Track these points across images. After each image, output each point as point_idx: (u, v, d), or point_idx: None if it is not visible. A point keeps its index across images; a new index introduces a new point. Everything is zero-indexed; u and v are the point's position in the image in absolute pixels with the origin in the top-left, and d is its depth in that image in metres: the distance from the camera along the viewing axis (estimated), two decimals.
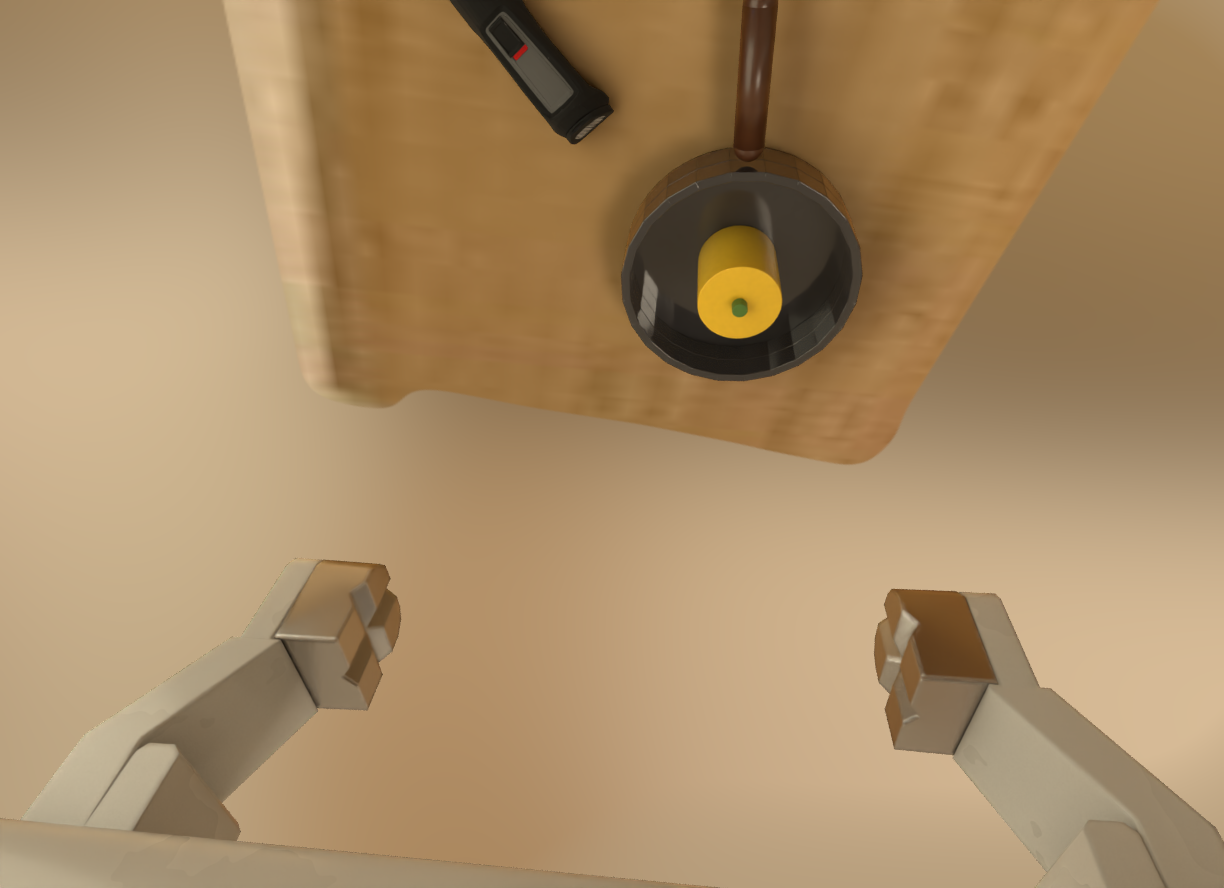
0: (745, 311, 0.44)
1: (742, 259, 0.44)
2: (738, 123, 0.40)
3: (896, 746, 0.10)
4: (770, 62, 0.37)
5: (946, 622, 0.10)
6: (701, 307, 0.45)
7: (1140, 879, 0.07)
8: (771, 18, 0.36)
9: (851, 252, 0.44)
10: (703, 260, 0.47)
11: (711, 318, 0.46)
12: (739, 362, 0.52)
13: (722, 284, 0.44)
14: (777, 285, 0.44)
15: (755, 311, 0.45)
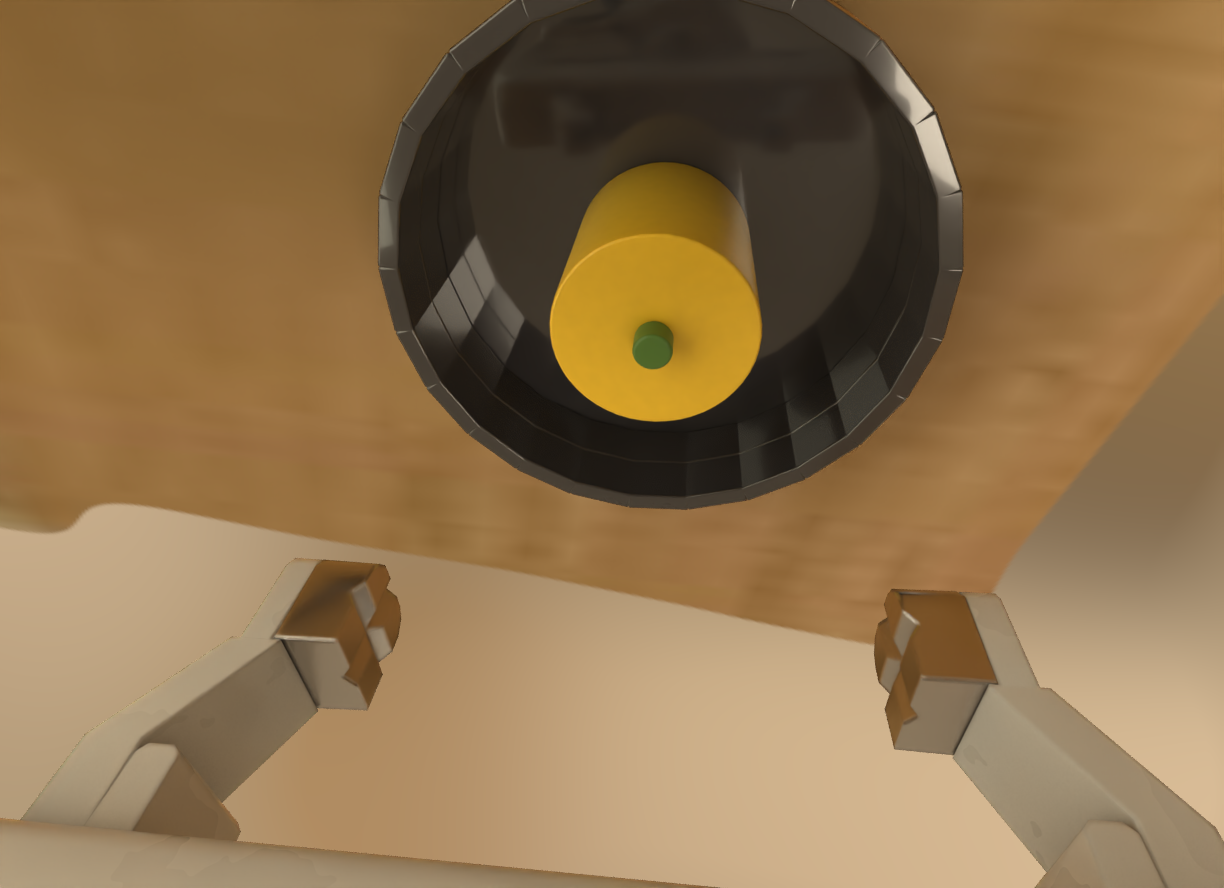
0: (666, 354, 0.17)
1: (657, 219, 0.17)
2: None
3: (897, 746, 0.10)
4: None
5: (946, 622, 0.10)
6: (561, 344, 0.18)
7: (1140, 879, 0.07)
8: None
9: (939, 205, 0.17)
10: (576, 237, 0.20)
11: (589, 372, 0.19)
12: (678, 468, 0.25)
13: (605, 284, 0.17)
14: (748, 287, 0.17)
15: (695, 356, 0.18)
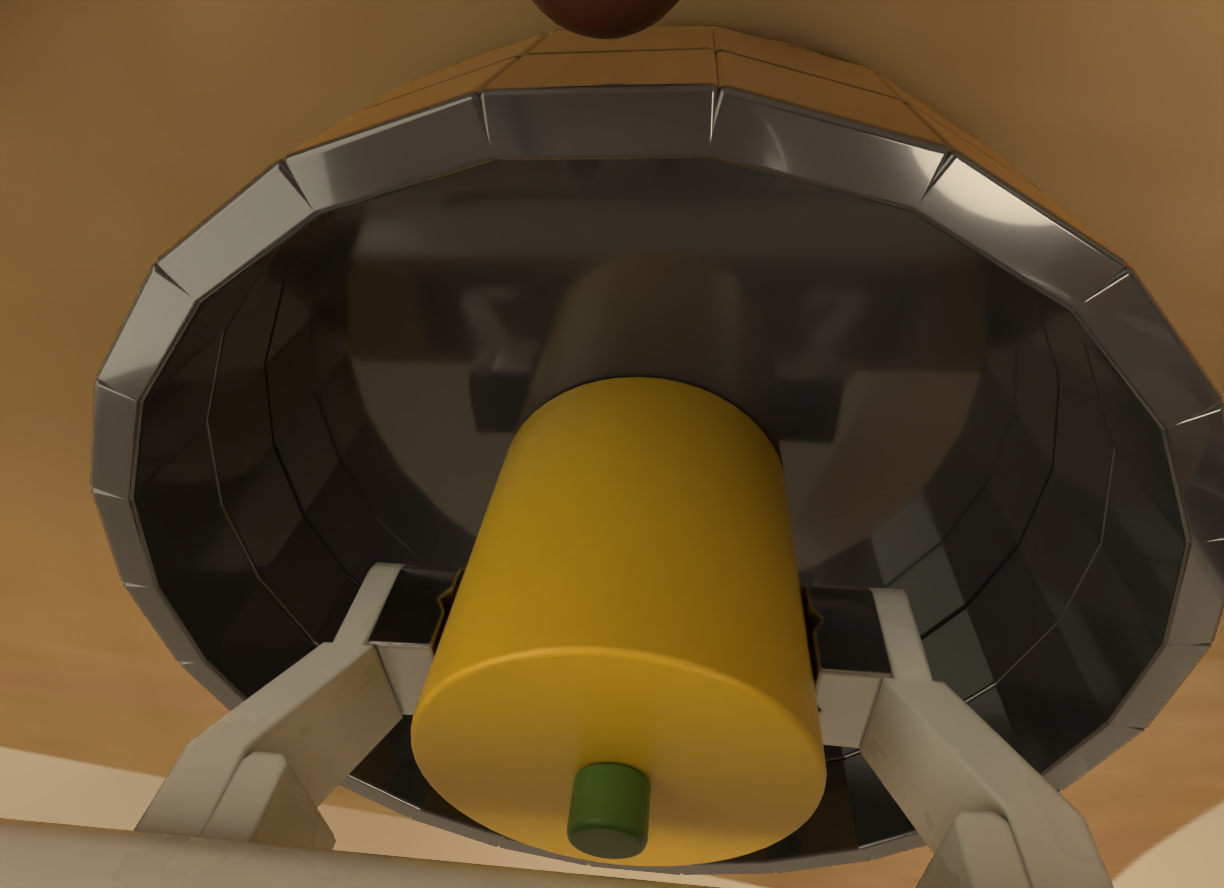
0: (635, 846, 0.08)
1: (614, 585, 0.08)
2: None
3: None
4: None
5: (850, 617, 0.10)
6: (437, 774, 0.09)
7: (1003, 866, 0.07)
8: None
9: (1190, 553, 0.08)
10: (483, 522, 0.11)
11: (494, 807, 0.10)
12: None
13: (511, 710, 0.08)
14: (803, 731, 0.08)
15: (693, 804, 0.09)
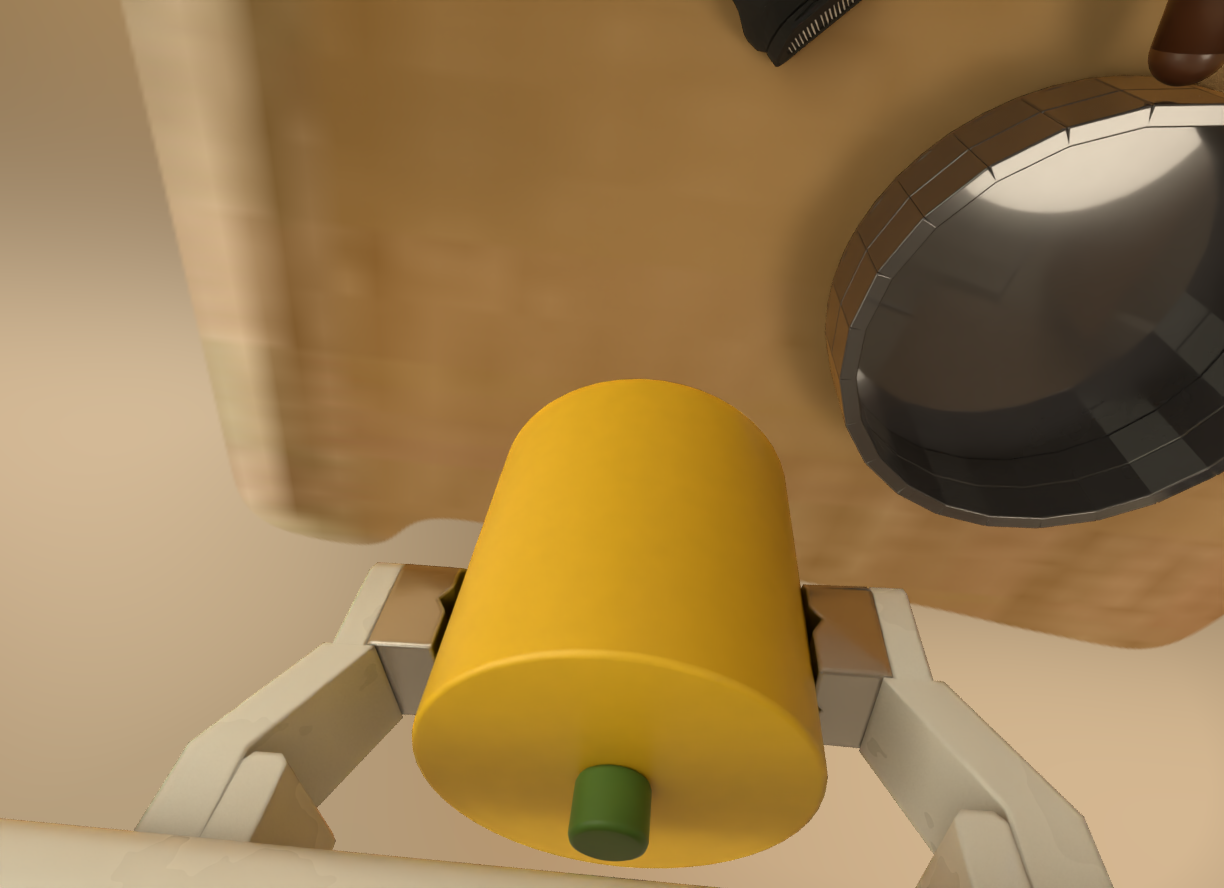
0: (636, 849, 0.08)
1: (615, 588, 0.08)
2: None
3: None
4: None
5: (850, 617, 0.10)
6: (438, 776, 0.09)
7: (1003, 867, 0.07)
8: None
9: None
10: (484, 524, 0.11)
11: (496, 809, 0.10)
12: (1020, 492, 0.29)
13: (512, 713, 0.08)
14: (804, 734, 0.08)
15: (693, 807, 0.09)
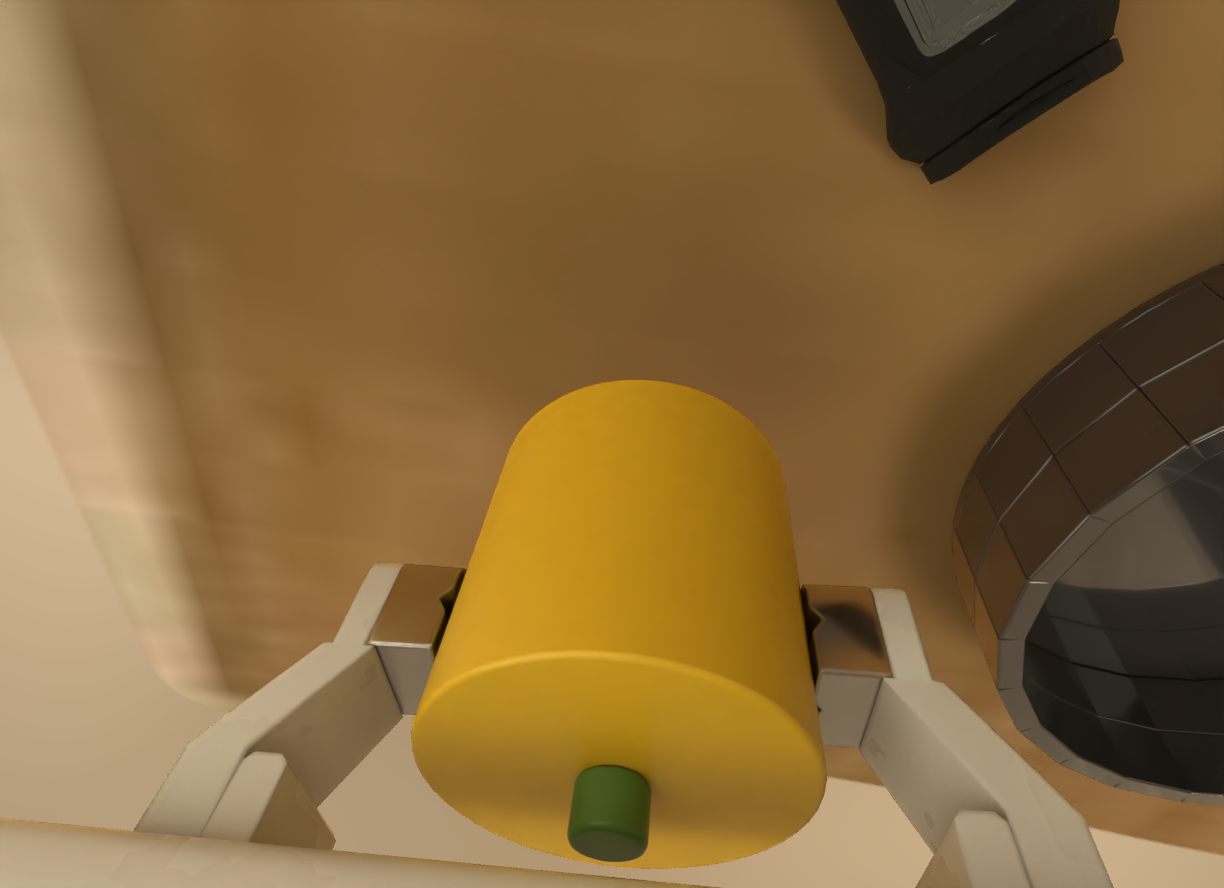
0: (636, 849, 0.08)
1: (615, 589, 0.08)
2: None
3: None
4: None
5: (850, 617, 0.10)
6: (437, 777, 0.09)
7: (1003, 867, 0.07)
8: None
9: None
10: (484, 525, 0.11)
11: (495, 810, 0.10)
12: (1223, 745, 0.20)
13: (511, 713, 0.08)
14: (803, 734, 0.08)
15: (692, 808, 0.09)
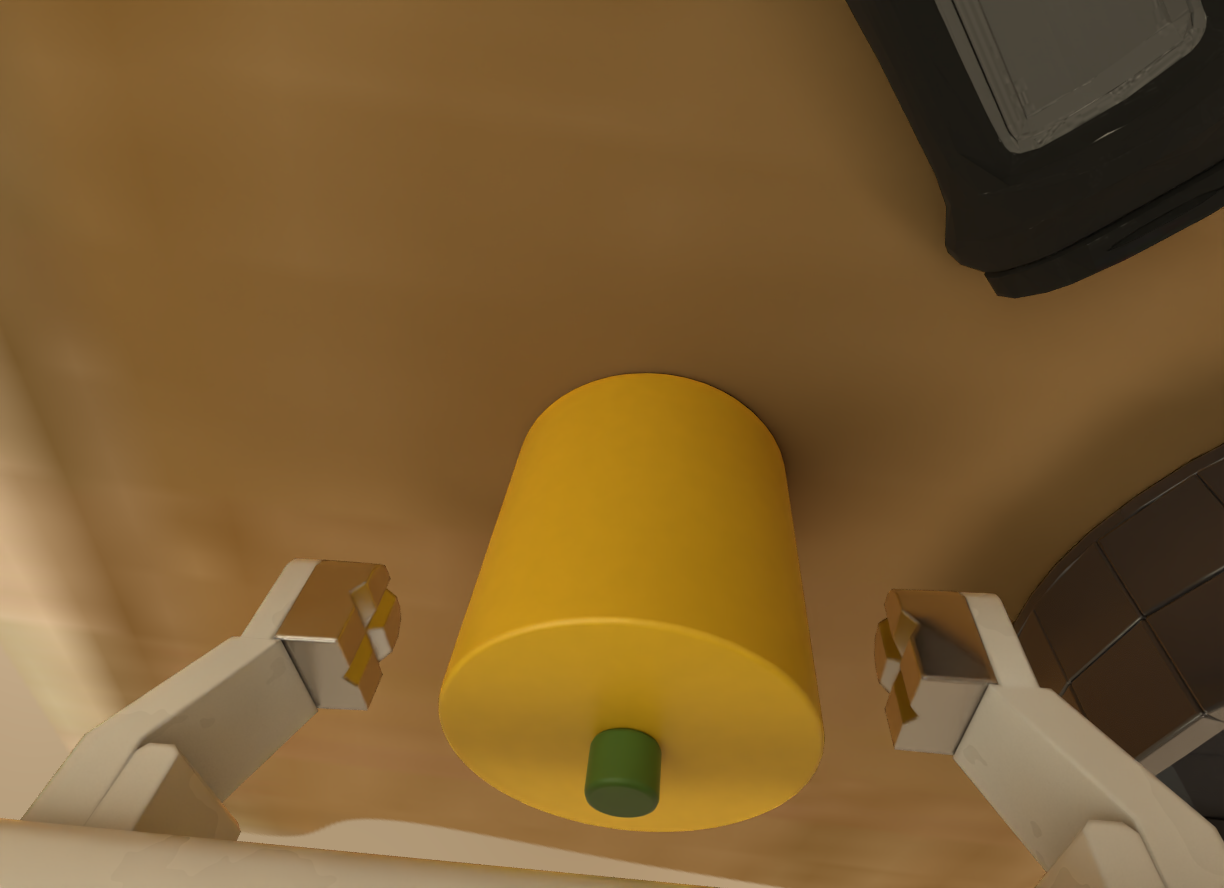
0: (648, 804, 0.09)
1: (628, 562, 0.09)
2: None
3: (897, 746, 0.10)
4: None
5: (946, 622, 0.10)
6: (462, 742, 0.10)
7: (1140, 879, 0.07)
8: None
9: None
10: (502, 510, 0.12)
11: (515, 775, 0.11)
12: None
13: (533, 678, 0.09)
14: (802, 696, 0.09)
15: (700, 770, 0.10)
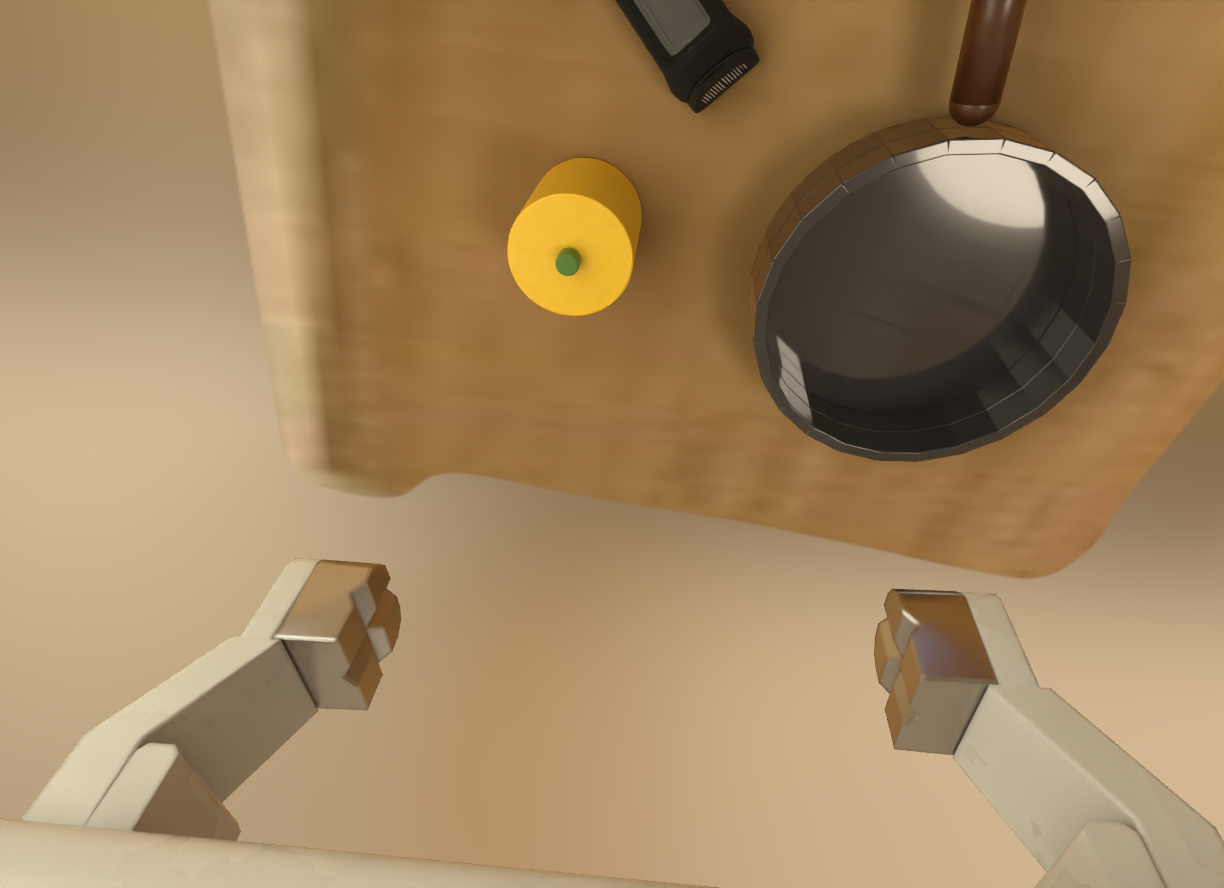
0: (575, 265, 0.29)
1: (568, 186, 0.29)
2: (968, 62, 0.26)
3: (897, 746, 0.10)
4: None
5: (946, 622, 0.10)
6: (514, 264, 0.30)
7: (1140, 879, 0.07)
8: None
9: (1116, 266, 0.29)
10: None
11: (532, 282, 0.30)
12: (905, 435, 0.37)
13: (538, 224, 0.29)
14: (621, 224, 0.28)
15: (595, 269, 0.30)
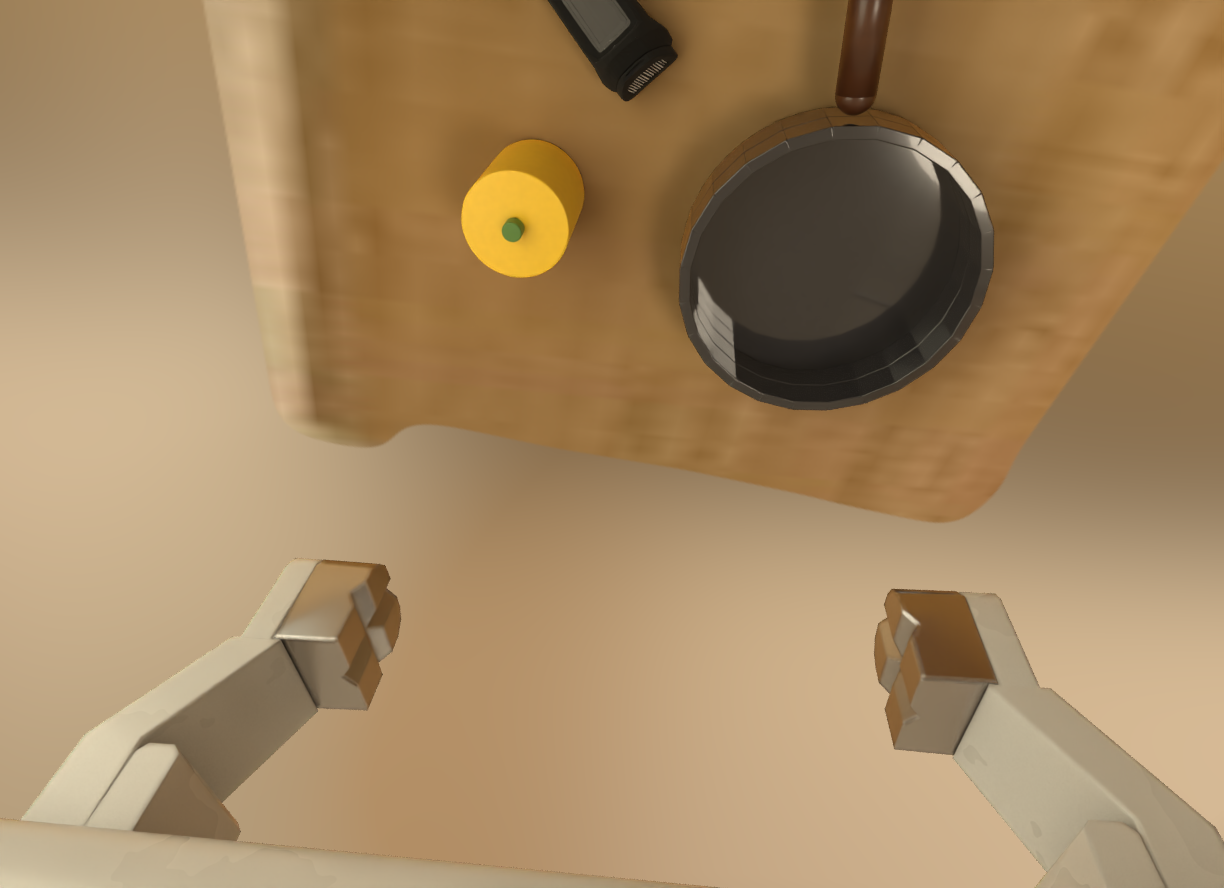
0: (518, 233, 0.34)
1: (512, 164, 0.33)
2: (846, 60, 0.30)
3: (896, 747, 0.10)
4: None
5: (946, 622, 0.10)
6: (468, 232, 0.35)
7: (1140, 879, 0.07)
8: None
9: (982, 237, 0.34)
10: None
11: (483, 248, 0.35)
12: (819, 388, 0.42)
13: (487, 197, 0.33)
14: (557, 198, 0.33)
15: (537, 237, 0.34)
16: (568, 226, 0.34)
